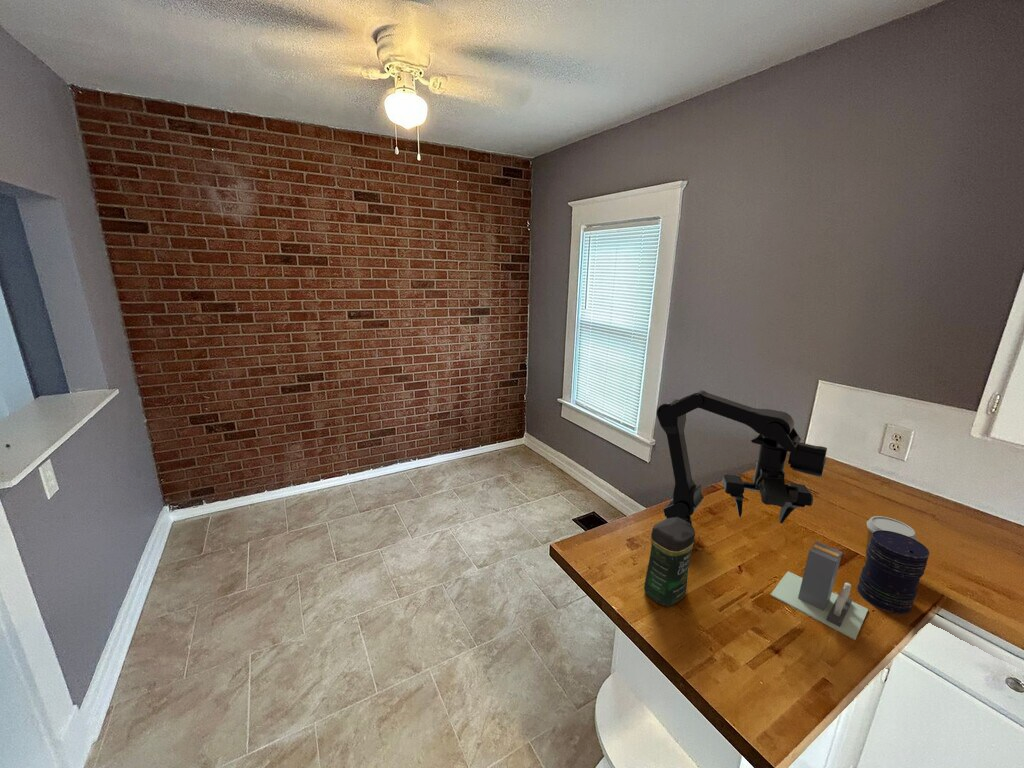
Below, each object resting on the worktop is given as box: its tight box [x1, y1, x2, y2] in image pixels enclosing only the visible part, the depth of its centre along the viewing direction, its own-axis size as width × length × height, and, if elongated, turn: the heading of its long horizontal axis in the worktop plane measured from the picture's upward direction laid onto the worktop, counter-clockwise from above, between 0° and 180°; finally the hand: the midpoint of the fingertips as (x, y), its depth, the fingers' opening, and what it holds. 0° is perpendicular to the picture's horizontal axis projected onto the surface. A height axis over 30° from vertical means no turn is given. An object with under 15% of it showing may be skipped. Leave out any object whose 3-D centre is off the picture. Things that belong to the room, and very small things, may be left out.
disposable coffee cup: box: [864, 515, 918, 564], centre depth 107 cm, size 10×10×12 cm
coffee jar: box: [643, 517, 696, 607], centre depth 96 cm, size 10×8×19 cm
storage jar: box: [857, 530, 930, 615], centre depth 96 cm, size 10×10×15 cm
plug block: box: [798, 541, 843, 611], centre depth 95 cm, size 5×5×13 cm
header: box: [769, 570, 869, 641], centre depth 96 cm, size 16×12×6 cm
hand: (759, 519), depth 106 cm, fingers open, 9 cm apart
